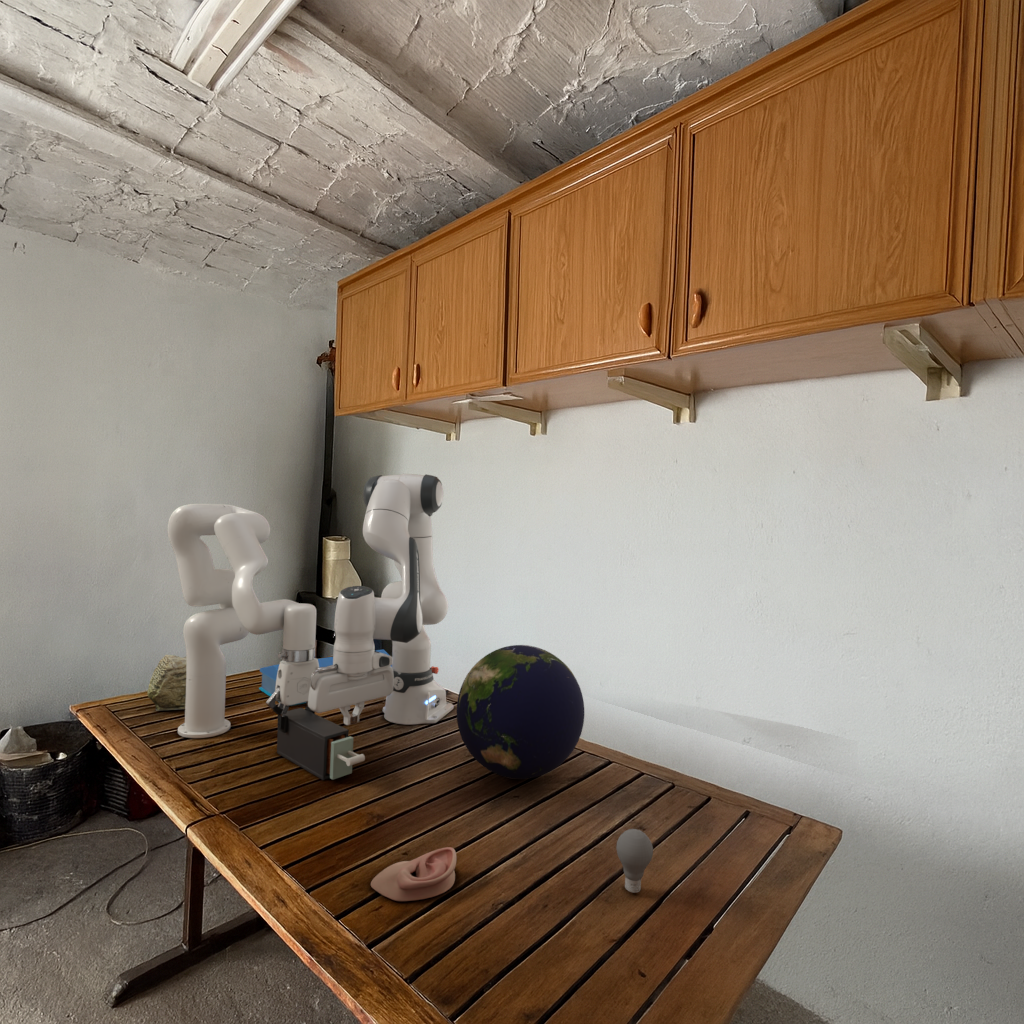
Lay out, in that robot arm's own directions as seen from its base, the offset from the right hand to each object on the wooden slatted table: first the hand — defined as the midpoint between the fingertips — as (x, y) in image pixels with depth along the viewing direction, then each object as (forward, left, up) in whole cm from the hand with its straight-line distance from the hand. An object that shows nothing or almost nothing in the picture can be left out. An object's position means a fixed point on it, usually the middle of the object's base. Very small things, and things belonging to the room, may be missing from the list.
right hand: (351, 723), depth 140 cm
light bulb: (+5, +66, -14) cm, 68 cm away
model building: (-49, -52, -14) cm, 73 cm away
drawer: (-2, -9, -13) cm, 16 cm away
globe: (-25, +29, -14) cm, 41 cm away
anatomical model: (+22, +34, -14) cm, 42 cm away
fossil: (-12, -74, -14) cm, 76 cm away
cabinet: (-4, -15, -14) cm, 21 cm away
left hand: (-5, -22, -7) cm, 24 cm away
